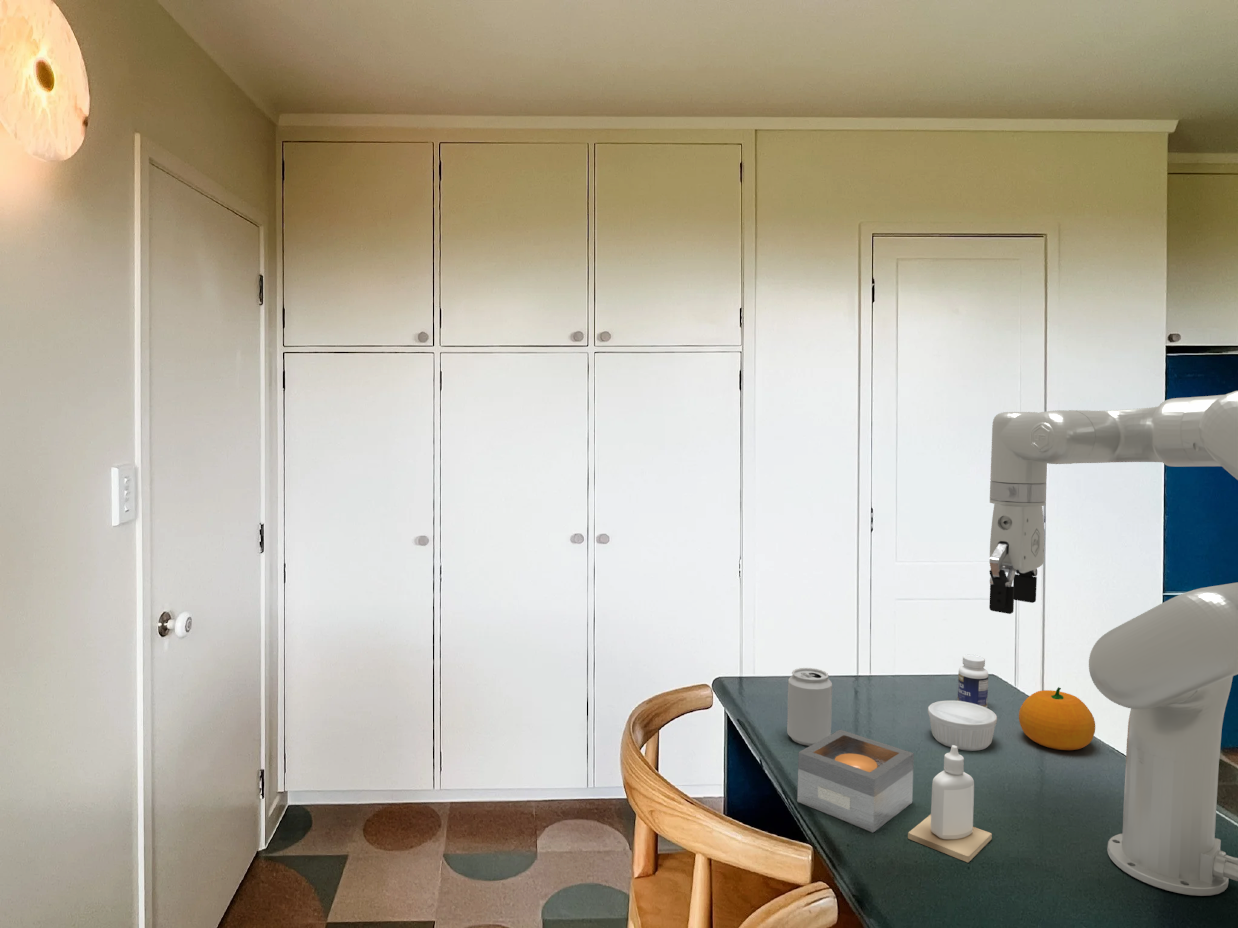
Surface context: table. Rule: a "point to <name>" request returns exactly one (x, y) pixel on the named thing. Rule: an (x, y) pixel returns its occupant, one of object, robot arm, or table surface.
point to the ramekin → (962, 724)
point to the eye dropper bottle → (952, 799)
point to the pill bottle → (973, 681)
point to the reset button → (857, 761)
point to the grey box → (855, 780)
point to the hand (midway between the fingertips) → (1013, 606)
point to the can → (809, 706)
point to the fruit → (1057, 720)
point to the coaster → (950, 841)
